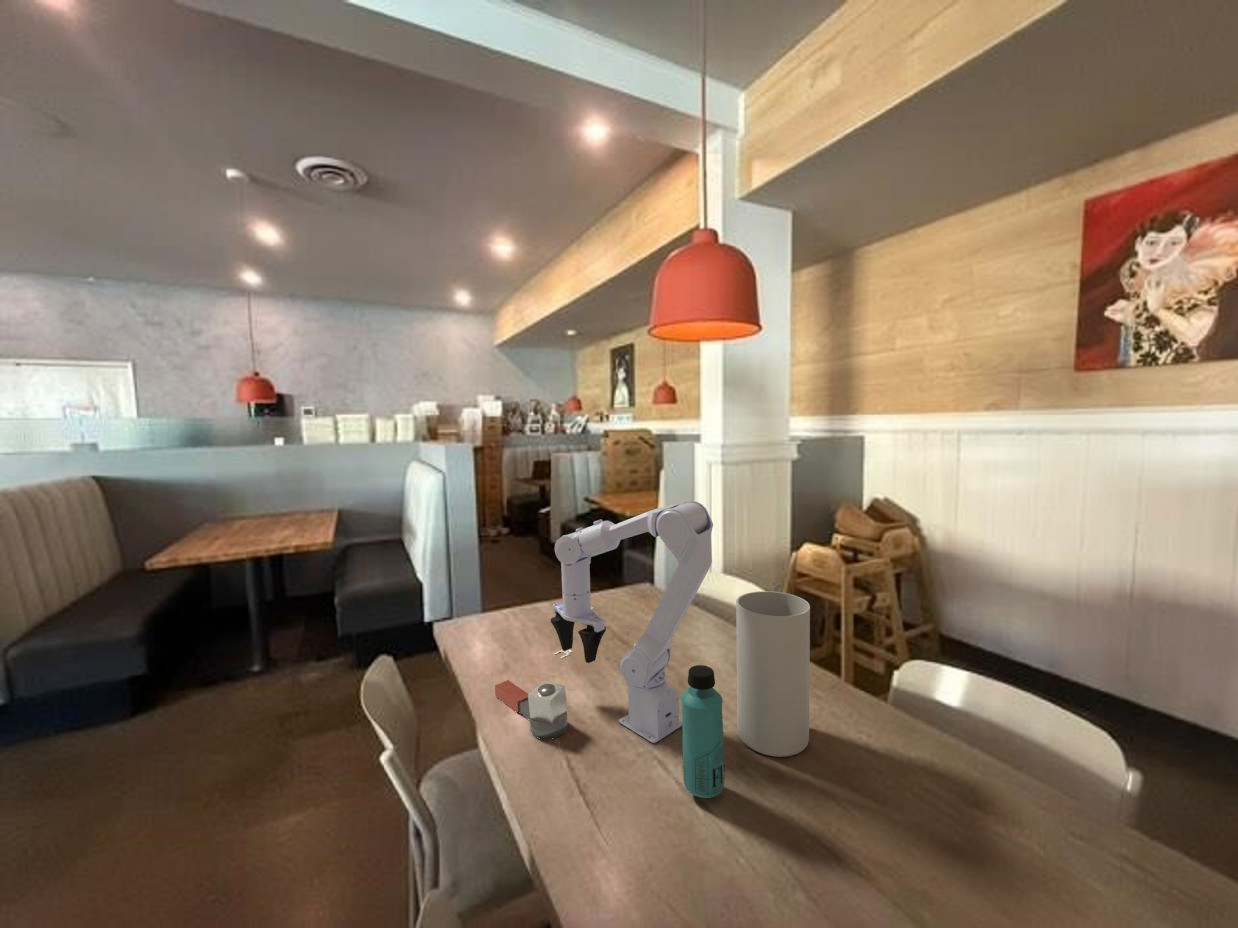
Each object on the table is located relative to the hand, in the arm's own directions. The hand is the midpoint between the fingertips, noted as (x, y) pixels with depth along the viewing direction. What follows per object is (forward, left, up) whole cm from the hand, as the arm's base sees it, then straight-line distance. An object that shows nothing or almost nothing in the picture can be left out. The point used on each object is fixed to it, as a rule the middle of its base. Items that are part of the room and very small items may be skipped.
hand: (578, 655), depth 107 cm
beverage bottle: (-34, +3, -10) cm, 36 cm away
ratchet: (+4, +10, -10) cm, 15 cm away
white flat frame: (+17, -14, -10) cm, 24 cm away
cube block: (-3, +10, -7) cm, 13 cm away
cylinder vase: (-34, -17, -10) cm, 40 cm away
